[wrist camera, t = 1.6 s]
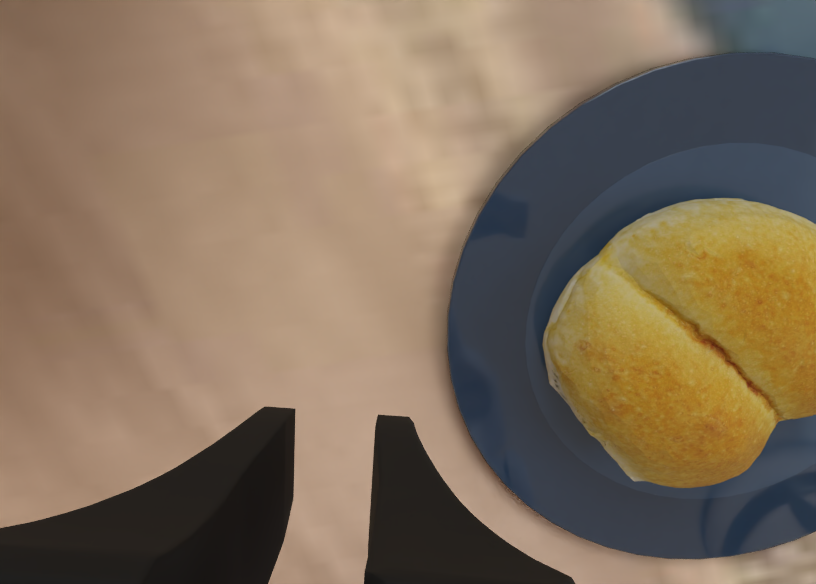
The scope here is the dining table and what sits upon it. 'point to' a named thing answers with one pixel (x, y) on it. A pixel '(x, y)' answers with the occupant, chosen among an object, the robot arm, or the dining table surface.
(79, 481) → the dining table surface
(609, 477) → the plate
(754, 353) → the bread roll
